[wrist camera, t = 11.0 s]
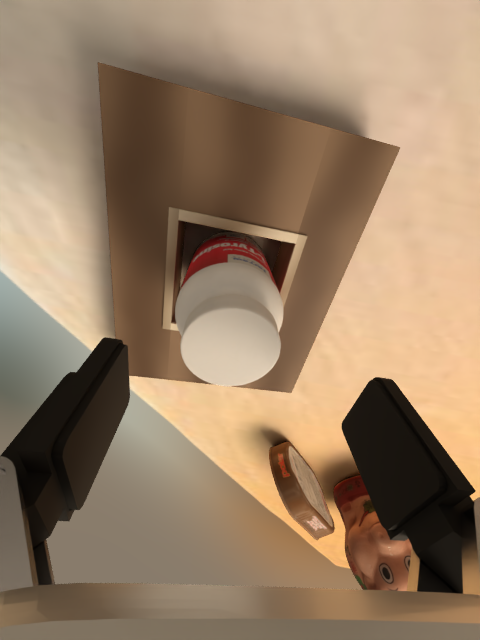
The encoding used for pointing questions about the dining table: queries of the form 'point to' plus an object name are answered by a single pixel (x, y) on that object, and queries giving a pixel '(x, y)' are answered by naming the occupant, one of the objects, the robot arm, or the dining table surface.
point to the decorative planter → (370, 541)
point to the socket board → (226, 209)
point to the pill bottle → (229, 312)
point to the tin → (300, 490)
